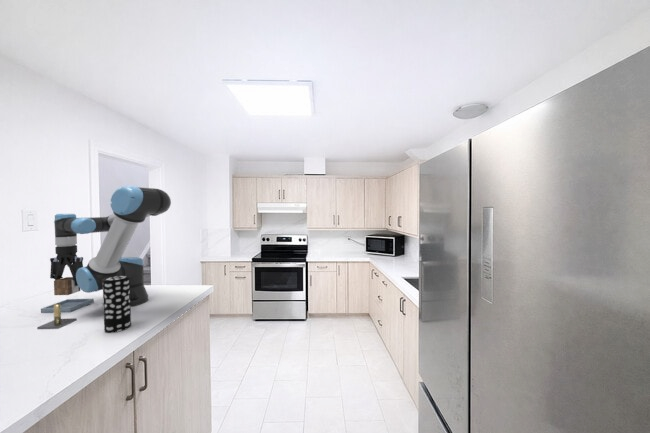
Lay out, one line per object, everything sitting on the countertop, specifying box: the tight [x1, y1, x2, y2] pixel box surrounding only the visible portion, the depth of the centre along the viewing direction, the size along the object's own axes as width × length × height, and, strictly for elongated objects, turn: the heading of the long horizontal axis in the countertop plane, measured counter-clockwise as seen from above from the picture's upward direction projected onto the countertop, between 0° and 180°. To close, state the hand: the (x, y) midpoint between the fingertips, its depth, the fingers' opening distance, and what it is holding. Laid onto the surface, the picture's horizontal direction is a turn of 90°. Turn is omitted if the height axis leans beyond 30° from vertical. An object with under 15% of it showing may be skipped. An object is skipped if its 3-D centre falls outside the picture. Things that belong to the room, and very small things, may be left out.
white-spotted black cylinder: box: [102, 275, 132, 334], centre depth 104 cm, size 8×8×20 cm
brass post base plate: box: [37, 303, 77, 330], centre depth 108 cm, size 8×8×8 cm
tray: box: [40, 298, 95, 314], centre depth 127 cm, size 13×13×2 cm
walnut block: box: [53, 276, 81, 296], centre depth 127 cm, size 6×6×7 cm
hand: (67, 292), depth 127 cm, fingers closed on walnut block, 6 cm apart
